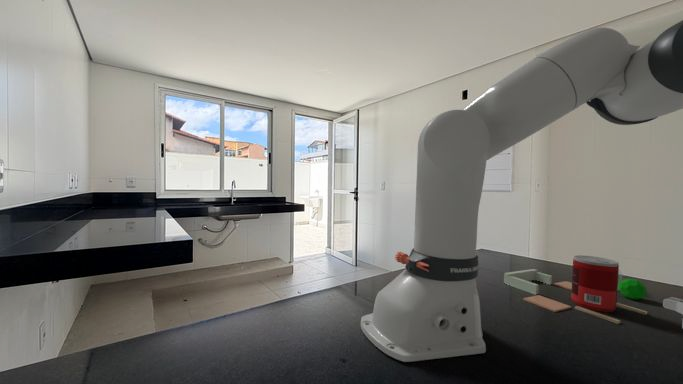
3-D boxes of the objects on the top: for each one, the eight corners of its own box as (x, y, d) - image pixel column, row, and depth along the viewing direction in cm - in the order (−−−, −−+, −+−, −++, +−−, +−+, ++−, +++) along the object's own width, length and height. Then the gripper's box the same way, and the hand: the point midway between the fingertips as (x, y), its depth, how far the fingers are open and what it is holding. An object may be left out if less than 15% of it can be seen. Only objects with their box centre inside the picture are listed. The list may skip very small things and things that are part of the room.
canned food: (626, 313, 62) (629, 264, 62) (589, 312, 62) (592, 263, 62) (595, 299, 70) (598, 255, 69) (563, 298, 70) (565, 254, 70)
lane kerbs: (617, 323, 57) (617, 321, 57) (550, 300, 68) (550, 298, 68) (647, 314, 62) (647, 311, 62) (580, 293, 74) (580, 291, 74)
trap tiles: (554, 312, 62) (555, 310, 62) (506, 293, 72) (506, 291, 72) (615, 296, 72) (615, 295, 72) (565, 282, 82) (566, 281, 82)
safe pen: (535, 294, 72) (536, 283, 71) (503, 283, 79) (504, 273, 79) (565, 288, 77) (566, 278, 77) (532, 278, 85) (533, 268, 85)
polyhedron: (645, 299, 71) (647, 280, 71) (646, 304, 68) (647, 284, 68) (618, 293, 75) (619, 275, 75) (617, 297, 72) (618, 279, 72)
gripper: (815, 307, 47) (688, 280, 59) (783, 328, 38) (643, 292, 51) (812, 344, 47) (686, 309, 60) (779, 373, 39) (640, 326, 51)
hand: (666, 301), depth 55 cm, fingers closed
